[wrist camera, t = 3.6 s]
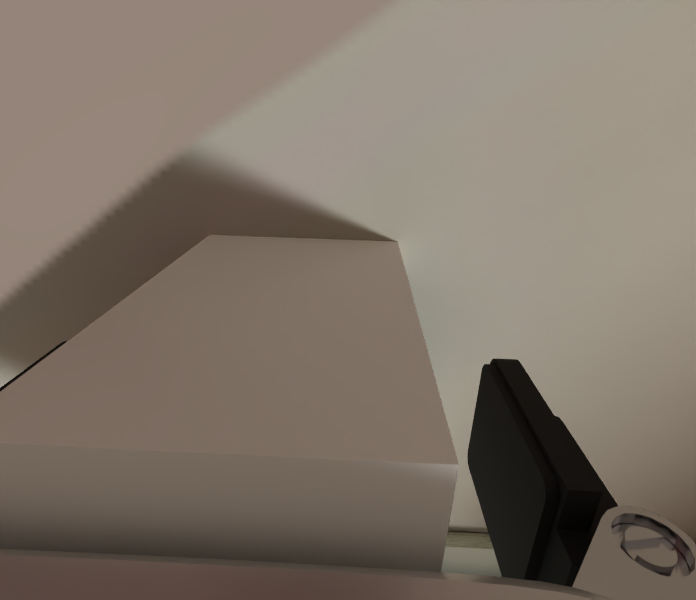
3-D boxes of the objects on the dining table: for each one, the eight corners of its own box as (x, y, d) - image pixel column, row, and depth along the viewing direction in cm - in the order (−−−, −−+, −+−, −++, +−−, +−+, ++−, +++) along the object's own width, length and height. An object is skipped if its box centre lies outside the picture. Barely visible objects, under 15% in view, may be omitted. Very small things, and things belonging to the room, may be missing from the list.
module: (209, 234, 12) (-67, 440, 4) (398, 241, 11) (461, 464, 4) (229, 442, 14) (85, 789, 7) (382, 449, 14) (402, 809, 7)
